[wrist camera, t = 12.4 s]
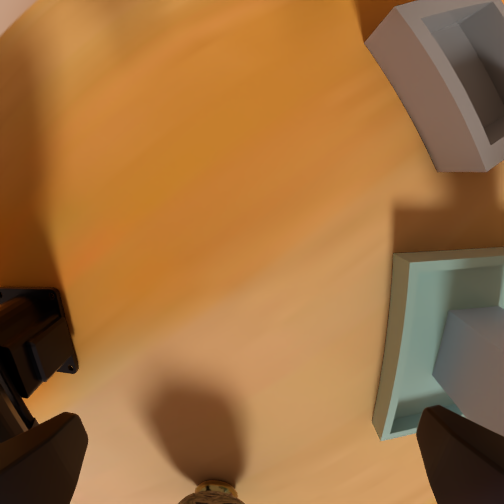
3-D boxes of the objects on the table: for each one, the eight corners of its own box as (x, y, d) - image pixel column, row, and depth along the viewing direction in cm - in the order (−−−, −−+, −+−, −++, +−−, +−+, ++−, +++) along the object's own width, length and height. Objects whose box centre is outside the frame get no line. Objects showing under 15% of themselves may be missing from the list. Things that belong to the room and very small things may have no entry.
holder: (437, 172, 17) (486, 172, 12) (364, 43, 15) (394, 6, 10) (514, 122, 16) (560, 116, 11) (454, 13, 14) (491, -14, 9)
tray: (372, 421, 21) (380, 441, 18) (393, 253, 18) (409, 262, 16) (497, 387, 20) (510, 400, 18) (529, 245, 18) (548, 251, 16)
